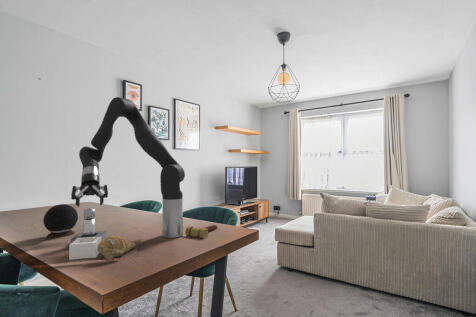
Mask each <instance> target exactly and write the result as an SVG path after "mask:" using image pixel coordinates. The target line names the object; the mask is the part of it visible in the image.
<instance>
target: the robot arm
mask: <svg viewBox="0 0 476 317" xmlns="http://www.w3.org/2000/svg"><path fill="white" fill-rule="evenodd" d="M119 118H125V119H126V120H127V121H128V122H129V123H130V124H131V126H132V127H133V131H134V132H133V133H134V138H135V140H136V143H137V144H138V145H139V146H140V148H141V149H142V150H143V151H144V152H145V153H146V154H147V155H148V156H149V157H151V158H152V159H153V160H154V161H155V162H157V163H158V165H159V166H160V167H161V168H162V169H161V171H160V178H159V179H160V193H161V196H162V199H161V200H162V208H161V211H162V212H161V213H162V214H161V215H162V216H161V218H162V219H161V222H162V224H161V225H162V231H161V233H162V234H161V235H162V236H161V237H162V238H168V239H169V238H170V239H173V238H179V237H184V215H183V213H184V212H183V209H184V208H183V206H184V205H183V204H184V203H183V201H184V198H183V194H184V193H183V192H182V191H181V186H180V185H181V182H183V181H185V176H186V173H185V169H184V168H183V167H182V166H181V165H180V163H178V162H177V160H176V159H175V158H174V157H173V156H172V155H171V154H170V152H169V151H168V149H167V147H166V146H165V145H164V143H163V142H162V140H161V139H160V138H159V136H157V133H156V132H155V131H154V130H153V129H152V128H151V126H150V125H149V124H148V122H147V121H146V120H145V118H144V117H143V115H142V113H141V112H140V110H139V108H138V107H137V105H136V104H135V103H134V101H133V100H131V99H129V98H125V97H120V96H119V97H117V96H116V97H114V98H112V99H111V100H110V102H109V104H108V107H107V109H106V112H105V114H104V117H103V118H102V121H101V124H100V126H99V127H98V130H97V131H96V132H95V134H94V136H93V138H92V139H91V141H90V144H91V146H92V147H90V146H86V145H85V146H83V147H81V149H80V150H79V152H78V156H79V160H80V163H81V164H82V172H81V176H80V177H81V180H80V181H81V182H80V186H79V187H78V186H76V185H73V186H72V189H71V195H70V196H71V200H75V206H76V207H77V208H78V207H80V202H81V201H80V200H81V199H82V198H84V197H85V196H87V197H88V196H96V197H98V198H99V206H102V205H103V204H104V202H105V200H104V199H105V198H108V197H109V193H108V191H109V190H108V185H107V184H104V185H103V186H101V184H100V183H101V182H100V164H99V163H100V162H101V161H102V159H103V156H104V152H105V150H106V147H107V146H108V143H109V142H110V141H111V139H112V138H113V132H114V131H113V130H114V129H113V128H114V124H115V123H116V122H117V120H118V119H119ZM101 190H102V191H103V192H104V193H103V192H101ZM78 191H79V192H78Z"/></svg>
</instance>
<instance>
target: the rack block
mask: <svg viewBox="0 0 476 317" xmlns="http://www.w3.org/2000/svg"><path fill="white" fill-rule="evenodd" d="M101 241H102V237H88V238H77V239H76V240H75V241H74V242H72V243H71V242H70V244H69V245H68V246H69V250H68V251H69V253H68V254H69V255H68V256H69V257H68V260H72V261H69V263H79V262H80V263H81V262H91V261H96V260H97V259H96V258H97V256H99V254H101V253H100V252H99V251H98V249H97V248H98V245H99V243H100V242H101ZM93 258H94V259H93ZM81 259H83V260H81ZM73 260H74V261H73Z"/></svg>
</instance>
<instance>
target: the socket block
mask: <svg viewBox="0 0 476 317" xmlns="http://www.w3.org/2000/svg"><path fill="white" fill-rule="evenodd" d="M106 232H107V231H106V230H103V231H101V230H99V231H95V236H91V237H102V240H103V239H105V238H107V235H106V234H107V233H106ZM77 238H88V237H84V232H79V233H77V234H76V235H75V236H73V237H72V238H70V244H71V243H72V242H74V241H75V240H76V239H77Z"/></svg>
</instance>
